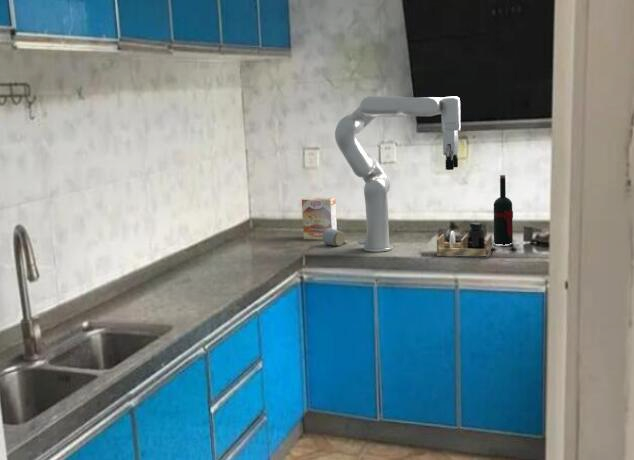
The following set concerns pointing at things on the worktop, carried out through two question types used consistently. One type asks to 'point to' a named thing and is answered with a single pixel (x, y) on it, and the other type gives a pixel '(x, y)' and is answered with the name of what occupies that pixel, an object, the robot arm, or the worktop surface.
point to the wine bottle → (503, 217)
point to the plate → (452, 239)
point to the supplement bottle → (475, 236)
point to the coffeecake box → (318, 216)
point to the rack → (462, 248)
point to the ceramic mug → (333, 237)
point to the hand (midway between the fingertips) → (451, 168)
